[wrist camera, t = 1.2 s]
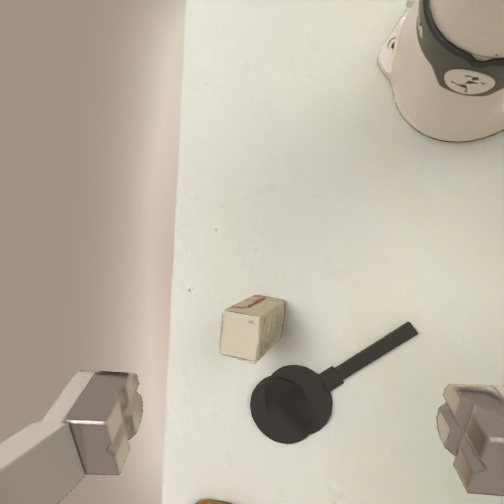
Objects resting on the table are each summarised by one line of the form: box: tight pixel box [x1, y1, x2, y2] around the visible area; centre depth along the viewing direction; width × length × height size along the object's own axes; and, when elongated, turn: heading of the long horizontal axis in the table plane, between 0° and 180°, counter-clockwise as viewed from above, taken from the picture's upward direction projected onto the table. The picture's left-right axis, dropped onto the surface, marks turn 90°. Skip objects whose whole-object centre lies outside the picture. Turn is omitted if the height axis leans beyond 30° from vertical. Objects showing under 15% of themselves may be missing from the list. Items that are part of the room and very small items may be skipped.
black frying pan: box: [250, 322, 418, 444], centre depth 41 cm, size 24×9×1 cm, turn 127°
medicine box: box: [220, 295, 285, 363], centre depth 40 cm, size 5×4×10 cm
